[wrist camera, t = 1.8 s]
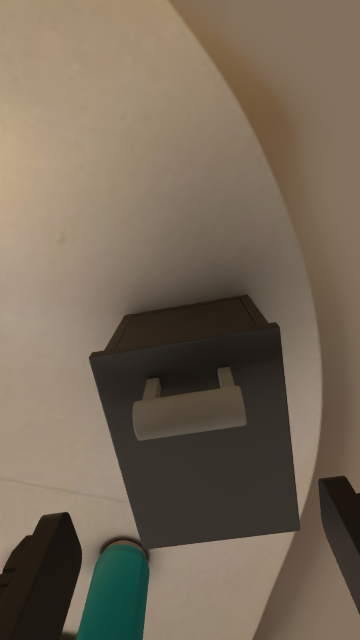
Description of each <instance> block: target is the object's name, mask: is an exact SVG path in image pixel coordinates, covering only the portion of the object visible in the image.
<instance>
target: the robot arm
mask: <svg viewBox="0 0 360 640" xmlns="http://www.w3.org/2000/svg"><path fill="white" fill-rule="evenodd" d="M319 496H320V508H321V518H322V524H323V528H324V531H325V534H326V537H327V540H328V542H329V544H330V547H331V549H332V551H333V554H334V556H335V558H336V561H337V563H338V565H339V568H340V570H341V572H342V575H343V577H344V579H345V582H346V584H347V586H348V588H349V591H350V593H351V596H352V598H353V600H354V602H355V604H356V607H357V610H358V612H359V614H360V493H358V494H356V493H355V491H354V489H353V488H352V486H351V484H350V483H349V481H348V479H347V478H346V477H345V476H336V477H329V478H321V479H319ZM81 563H82V550H81V545H80V542H79V540H78V537H77V534H76V531H75V528H74V526H73V523H72V520H71V517H70V515H69V513H68V512H63V513H55V514H48V515H43V516H42V517H41V518H40V520H39V522H38V524H37V526H36V528H35V530H34V533H33V535H29V536H25V538H24V539H23V540H22V541H21V542H20V543H19V545H18V546H17V547H16V548H15V549H14V550H13V551H12V553H11V555H10V557H9V559H8V561H7V563H6V565H5V567H4V569H3V573H2V574H0V640H60V637H61V633H62V630H63V627H64V623H65V620H66V616H67V613H68V610H69V606H70V603H71V599H72V596H73V593H74V589H75V586H76V583H77V579H78V576H79V572H80V569H81Z"/></svg>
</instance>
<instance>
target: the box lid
mask: <svg viewBox="0 0 360 640" xmlns="http://www.w3.org/2000/svg"><path fill="white" fill-rule="evenodd" d="M89 361H90V365H91V368H92V372H93V375H94V379H95V382H96V386H97V389H98V393H99V396H100V400H101V403H102V407H103V410H104V414H105V417H106V421H107V424H108V428H109V431H110V435H111V438H112V442H113V445H114V449H115V452H116V456H117V459H118V463H119V466H120V470H121V473H122V477H123V480H124V484H125V487H126V491H127V494H128V498H129V502H130V505H131V509H132V512H133V516H134V519H135V523H136V526H137V530H138V533H139V537H140V540H141V544H142V547H143V549H144V550H145V549H153V548H161V547H169V546H177V545H186V544H194V543H202V542H210V541H218V540H227V539H235V538H243V537H251V536H259V535H268V534H276V533H284V532H292V531H299V530H300V523H299V513H298V503H297V493H296V483H295V474H294V464H293V454H292V444H291V434H290V425H289V415H288V405H287V395H286V385H285V376H284V366H283V356H282V346H281V336H280V327H279V326H278V324H277V323H276V322H274V323H268V324H261V325H255V326H249V327H243V328H237V329H231V330H225V331H219V332H213V333H207V334H201V335H195V336H189V337H183V338H177V339H171V340H165V341H159V342H153V343H147V344H141V345H135V346H128V347H122V348H116V349H110V350H104V351H98V352H93V353H91V355H90V357H89Z"/></svg>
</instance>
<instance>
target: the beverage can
mask: <svg viewBox="0 0 360 640" xmlns="http://www.w3.org/2000/svg"><path fill="white" fill-rule="evenodd" d="M148 582H149V567H148V562H147V559H146V555H145V552H144V551H143V549H142V548H141V547H140V546H139V545H138V544H136V543H134V542H131V541H127V540H120V541H116V542H113V543H112V544H110V545H109V546H107V548H106V549H105V550H104V551H103V553H102V554H101V556H100V557H99V559H98V561H97V562H96V565H95V568H94V572H93V576H92V580H91V584H90V588H89V592H88V595H87V599H86V603H85V607H84V611H83V615H82V619H81V623H80V626H79V630H78V634H77V638H76V640H143V630H144V621H145V611H146V601H147V591H148Z"/></svg>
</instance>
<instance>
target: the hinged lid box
mask: <svg viewBox="0 0 360 640" xmlns="http://www.w3.org/2000/svg"><path fill="white" fill-rule="evenodd" d="M261 324H268V322H267V320H266V319H265V318H264V316H263V315H262V314H261V312H260V311H259V310H258V308H257V307H256V305H255V304H254V303H253V301H252V300H251V299H250V297H249V296H248V295H243V296H237V297H231V298H225V299H219V300H214V301H208V302H202V303H196V304H190V305H185V306H179V307H173V308H167V309H161V310H156V311H150V312H144V313H138V314H132V315H127V316H124V318H123V319H122V321H121V323H120V324H119V326H118V328H117V330H116V331H115V333H114V335H113V336H112V338H111V340H110V341H109V343H108V345H107V346H106V348H105V350H110V349H116V348H122V347H128V346H135V345H141V344H147V343H153V342H159V341H165V340H171V339H177V338H183V337H189V336H195V335H201V334H207V333H213V332H219V331H225V330H231V329H237V328H243V327H249V326H255V325H261Z"/></svg>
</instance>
